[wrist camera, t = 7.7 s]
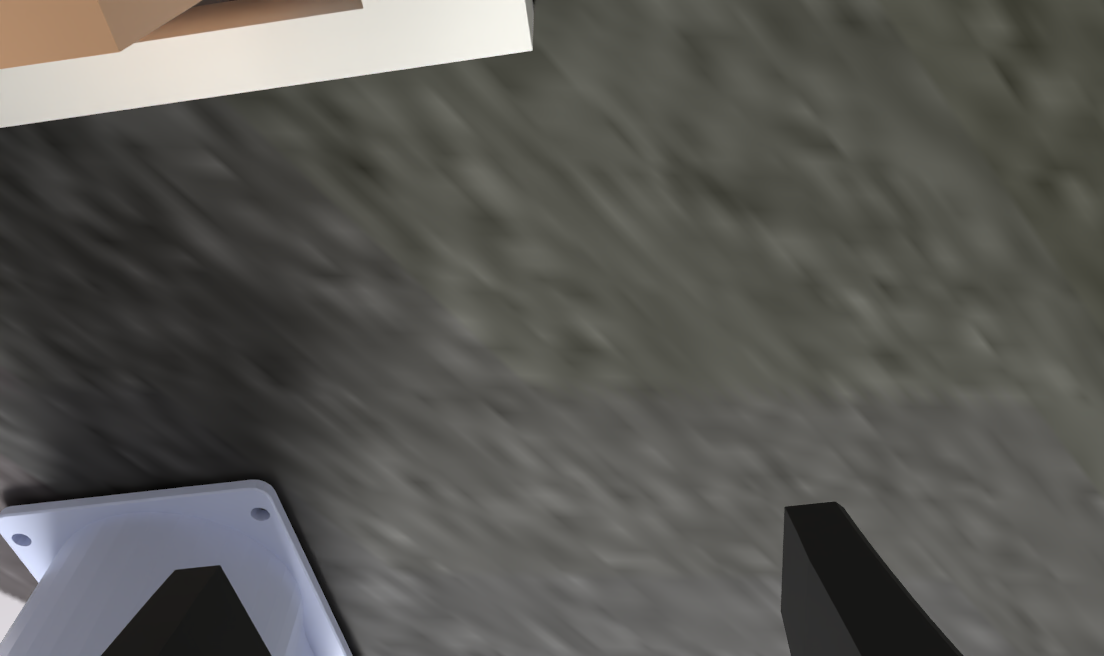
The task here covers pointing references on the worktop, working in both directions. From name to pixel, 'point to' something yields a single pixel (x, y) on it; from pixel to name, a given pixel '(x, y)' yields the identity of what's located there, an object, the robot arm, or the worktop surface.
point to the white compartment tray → (265, 52)
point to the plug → (77, 27)
